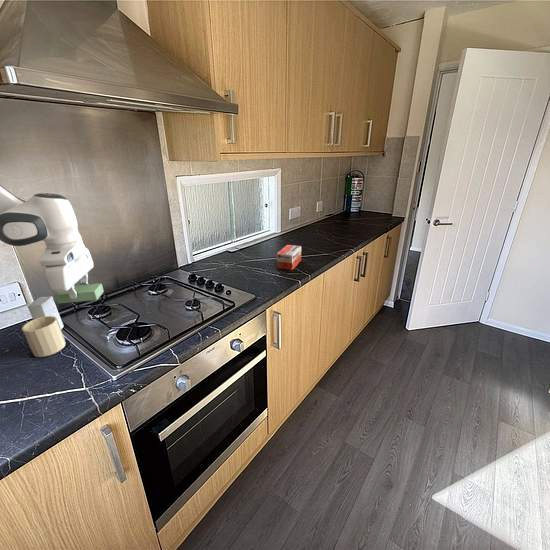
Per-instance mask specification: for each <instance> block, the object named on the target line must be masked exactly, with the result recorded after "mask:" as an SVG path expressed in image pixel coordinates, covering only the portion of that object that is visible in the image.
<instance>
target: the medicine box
mask: <svg viewBox="0 0 550 550" xmlns="http://www.w3.org/2000/svg"><path fill="white" fill-rule="evenodd" d="M300 262H302V246H301V245H293V244H286V245H285V246H284V247H283V248H281V249H280V250H279V251H278V252H277V253H276V269H279V270H286V271H293V270H294V269H295V268H296V267H297V266H298V265H299V264H300Z"/></svg>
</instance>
